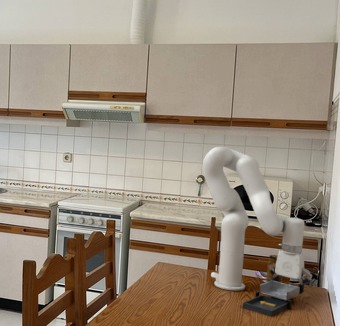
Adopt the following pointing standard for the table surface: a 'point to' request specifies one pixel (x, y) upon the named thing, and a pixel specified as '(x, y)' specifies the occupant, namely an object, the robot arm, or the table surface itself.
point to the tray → (265, 309)
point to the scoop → (279, 290)
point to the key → (267, 303)
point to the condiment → (272, 261)
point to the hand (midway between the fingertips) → (287, 290)
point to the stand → (280, 299)
